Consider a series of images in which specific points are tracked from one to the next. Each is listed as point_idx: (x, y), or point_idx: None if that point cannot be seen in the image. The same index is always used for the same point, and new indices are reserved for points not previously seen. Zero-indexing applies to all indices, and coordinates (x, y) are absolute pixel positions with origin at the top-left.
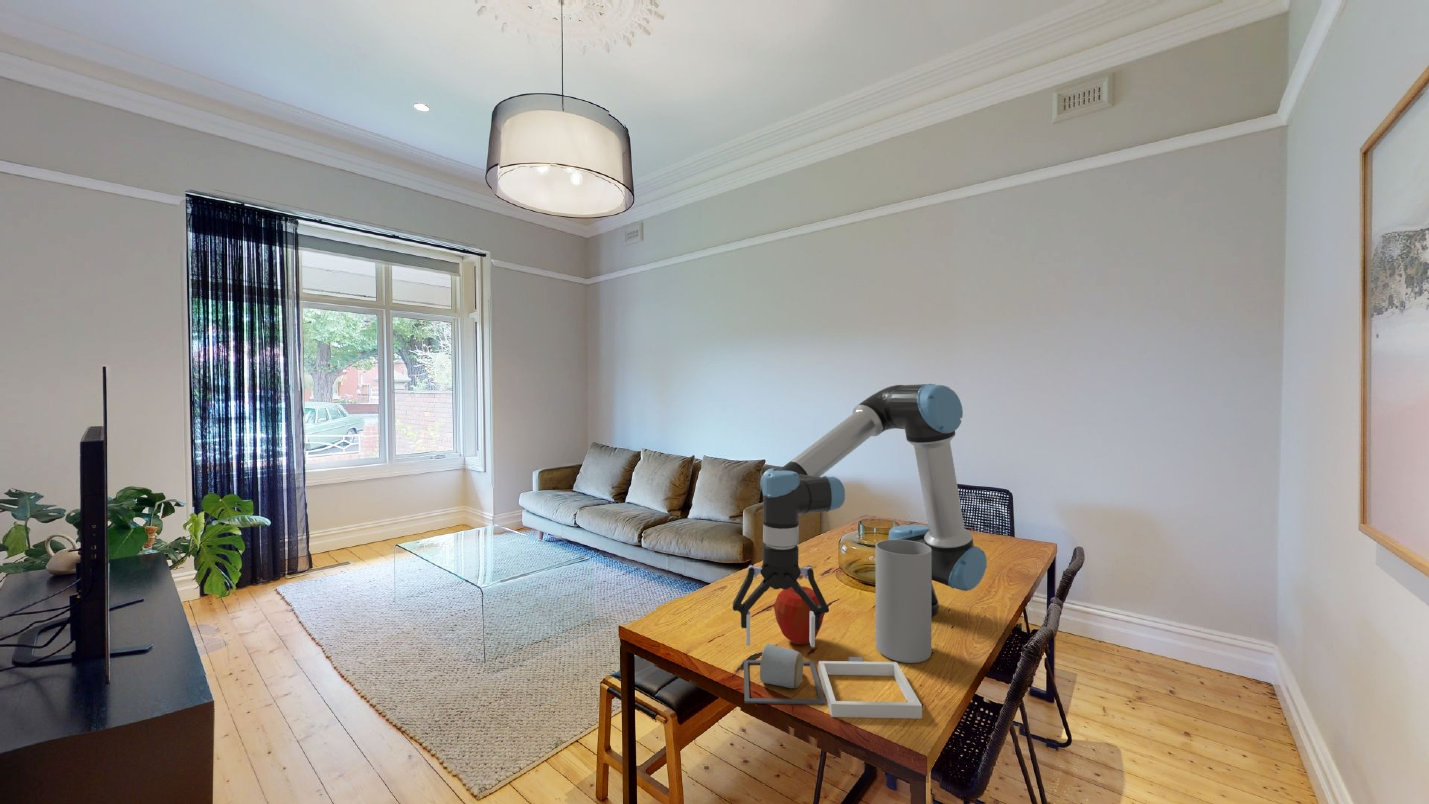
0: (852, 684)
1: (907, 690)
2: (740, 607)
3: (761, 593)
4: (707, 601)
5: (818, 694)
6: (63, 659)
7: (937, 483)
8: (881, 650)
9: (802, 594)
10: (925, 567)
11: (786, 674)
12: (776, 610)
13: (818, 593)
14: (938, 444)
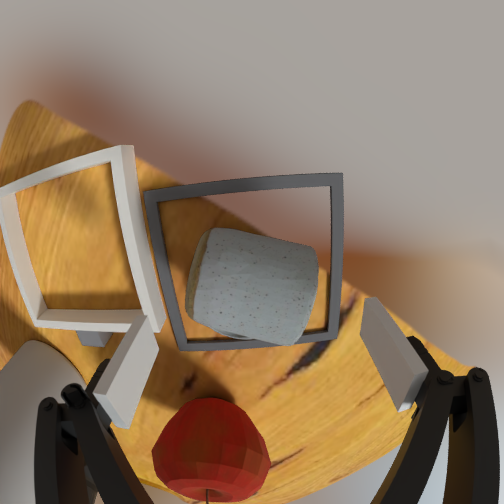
0: (98, 277)
1: (9, 237)
2: (458, 391)
3: (398, 488)
4: (363, 456)
5: (158, 223)
6: None
7: None
8: (70, 370)
9: (114, 496)
10: None
11: (235, 234)
12: (264, 455)
13: (42, 472)
14: None
